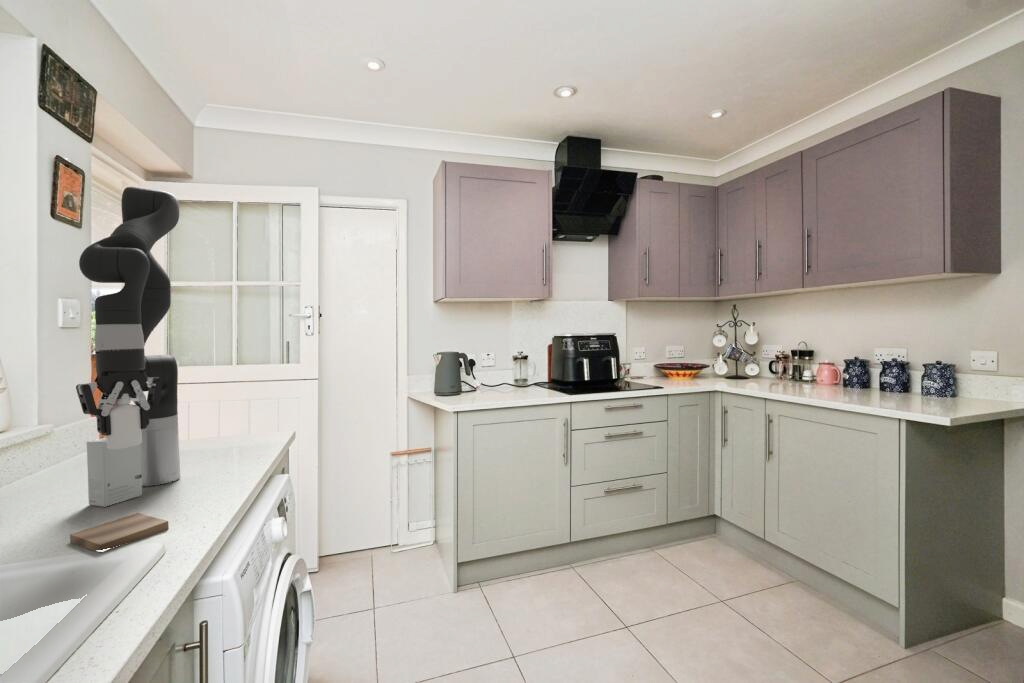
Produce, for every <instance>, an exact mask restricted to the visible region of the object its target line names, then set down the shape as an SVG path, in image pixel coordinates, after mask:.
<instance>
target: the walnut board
mask: <svg viewBox="0 0 1024 683" xmlns="http://www.w3.org/2000/svg"><path fill="white" fill-rule="evenodd" d="M166 530H169V520H165V519H163V518H159V517H155V516H150V515H148V514H145V513H139V512H136V513H133V514H129V515H126V516H122V517H119V518H117V519H114V520H110V521H108V522H104V523H102V524H98V525H95V526H92V527H89V528H86V529H82V530H79V531H76V532H72V533H70V534H69V541H70V543H71V542H72V543H71V544H74V543H75V545H77V544H78V546H80V545H81V546H80V547H82V546H83V548H85V547H86V549H88V548H89V549H88V550H90V549H91V551H93V550H103V549H107V548H113V547H116V546H119V545H122V544H125V545H127V544H126V543H128V544H129V542H130V543H133V542H135V541H138V540H141V539H144V538H146V537H149V536H152V535H154V534H158V533H161V532H163V531H166ZM122 546H123V545H122ZM119 547H120V546H119Z"/></svg>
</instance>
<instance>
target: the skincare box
mask: <svg viewBox="0 0 1024 683" xmlns="http://www.w3.org/2000/svg"><path fill="white" fill-rule="evenodd" d="M86 455H87V457H86V459H87V460H86V462H87V463H86V464H87V487H88V489H87V490H88V505H90V506H97V507H101V508H107V506H108V507H110V506H112V504H113V505H116V504H119V502H120V503H122V502H124V501H125V502H126V501H127V500H130V499H135V498H137V497H141V496H143V486H142V473H141V444H138V445H135V446H132V447H127V448H122V449H108V448H107V440H106V437H103V438H97V439H91V440H89V441H86ZM115 503H116V504H115ZM109 505H110V506H109Z"/></svg>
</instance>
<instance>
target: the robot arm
mask: <svg viewBox="0 0 1024 683" xmlns="http://www.w3.org/2000/svg"><path fill="white" fill-rule="evenodd" d="M120 203H121V204H120V206H121V218H122V219H121V220H122V223H121V224H119V225H118V226H117V227H116V228H114V230H113V231H112V233H111V234H110V236H108V237H104V238H102V239H100V240H98V241H95V242H93V243H92V244H90V245H89V246H87V247H86V248H85V249H84V250H83V252H81V255H80V256H79V261H78V262H79V263H78V266H79V270H80V271H81V273H82V275H83V276H84V277H85V278H86V279H88V280H90V281H92V282H95V283H99V284H124V285H123V287H122V288H121V290H119V291H117V292H115V293H110V294H109V293H108V294H103V295H100V296H97V297H96V298H95V300H94V317H95V331H94V351H95V352H94V355H95V371H96V377H95V379H94V381H92V382H91V381H90V382H88V383H78V384H77V385H76V386H75V390H76V393H77V397H78V400H79V403H80V407H81V409H82V413H83V414H85V415H90V416H95V417H96V430H97V433H98V434H100V435H101V436H107V435H111V420H110V416H108V414H109V412H110V410H111V408H112V407H114V406H115V405H116V404H115V402H116V399H121V397H123V394H129V398H130V399H131V402H132V403H133V405H136V406H138V407H139V408H140V414H141V431H142V442H141V473H142V487H153V485H155V486H161V485H164V484H169V483H172V481H173V482H175V481H177V480H179V479H180V478H181V462H180V461H181V460H180V455H181V454H180V436H179V417H178V402H179V399H178V378H179V371H178V363H177V360H176V358H175V357H174V356H173V355H172V354H157V355H145V354H146V353H145V346H146V344H147V341H148V338H150V335H151V333H152V332H154V330H155V328H156V327H158V325H159V323H160V322H161V321H162V320H163V319H164V317H165V316H166V314H167V313H168V312H169V311H170V308H171V304H172V303H171V302H172V301H171V300H172V297H171V295H172V294H171V290H172V289H171V280H170V278H169V275H168V274H167V272H166V271H165V269H164V267H162V265H161V264H160V263H159V261H158V260H157V259H156V258H155V256H154V255H153V253H152V252H151V250H152V249H153V247H154V245H155V244H156V242H158V241H159V240H160V239H162V238H163V237H164V236H165V235H167V234H168V233H170V232H171V231H172V230H173V229H174V228H175V227H176V226H177V224H178V222H179V218H180V204H179V199H178V198H177V197H176V196H175V195H174V194H173V193H171V192H168V191H164V190H157V189H150V188H143V187H136V186H127V187H125V188H124V189H123V192H122V194H121V202H120ZM96 388H97V390H99V391H100V392H101V395H100V397H99V399H98V401H97V404H96V401H95V398H94V394H95V392H96ZM144 392H147V396H146V395H145V393H144ZM160 484H161V485H160Z"/></svg>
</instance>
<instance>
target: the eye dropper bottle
mask: <svg viewBox="0 0 1024 683" xmlns="http://www.w3.org/2000/svg"><path fill="white" fill-rule="evenodd" d="M131 403H132V401H131V399H130V398H129V394H123V397H121V399H116V402H115V404H114V405H113V406H112V407H111V410H110V412H109V414H108V416H110V420H111V435H107V436H106V437H105V438H106V440H107V448H108V449H122V448H127V447H132V446H135V445H138V444H141V442H142V431H141V414H140V408H139V407H138V406H136V405H135V404H131Z"/></svg>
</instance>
